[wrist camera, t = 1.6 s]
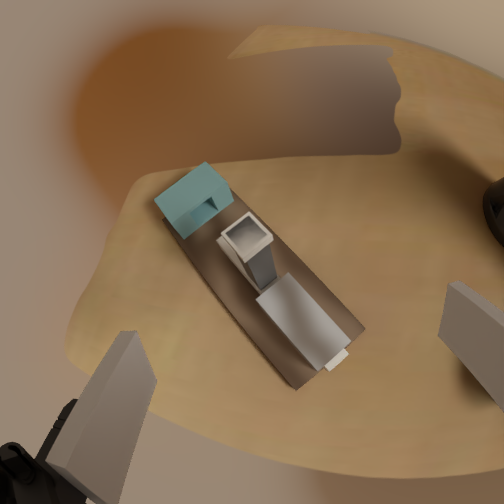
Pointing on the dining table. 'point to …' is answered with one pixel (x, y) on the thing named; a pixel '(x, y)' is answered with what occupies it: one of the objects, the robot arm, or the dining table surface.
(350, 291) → the dining table surface
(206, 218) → the socket
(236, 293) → the long brown base plank
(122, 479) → the robot arm
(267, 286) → the tube
